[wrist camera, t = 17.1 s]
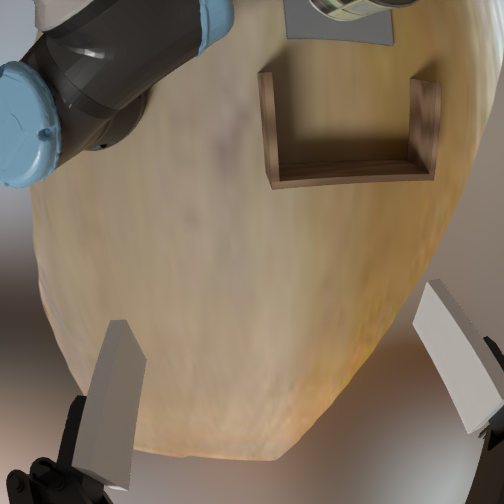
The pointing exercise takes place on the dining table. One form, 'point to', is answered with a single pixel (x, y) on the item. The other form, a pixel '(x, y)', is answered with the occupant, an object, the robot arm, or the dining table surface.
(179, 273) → the dining table surface
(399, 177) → the walnut u-shaped frame
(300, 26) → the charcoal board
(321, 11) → the coffee can
